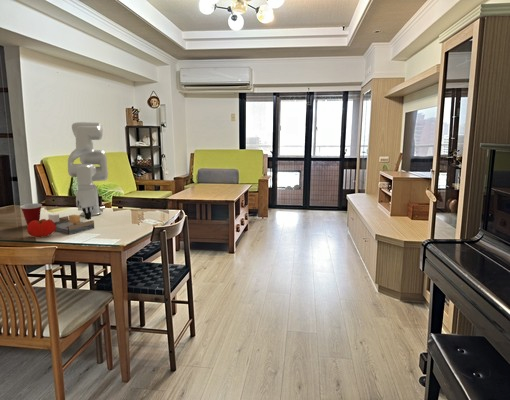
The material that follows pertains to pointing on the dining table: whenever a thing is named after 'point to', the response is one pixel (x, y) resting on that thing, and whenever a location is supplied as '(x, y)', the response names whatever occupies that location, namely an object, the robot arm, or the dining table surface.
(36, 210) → the plastic cup
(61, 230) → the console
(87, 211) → the robot arm
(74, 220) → the block
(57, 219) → the block
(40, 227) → the tomato
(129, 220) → the dining table surface
